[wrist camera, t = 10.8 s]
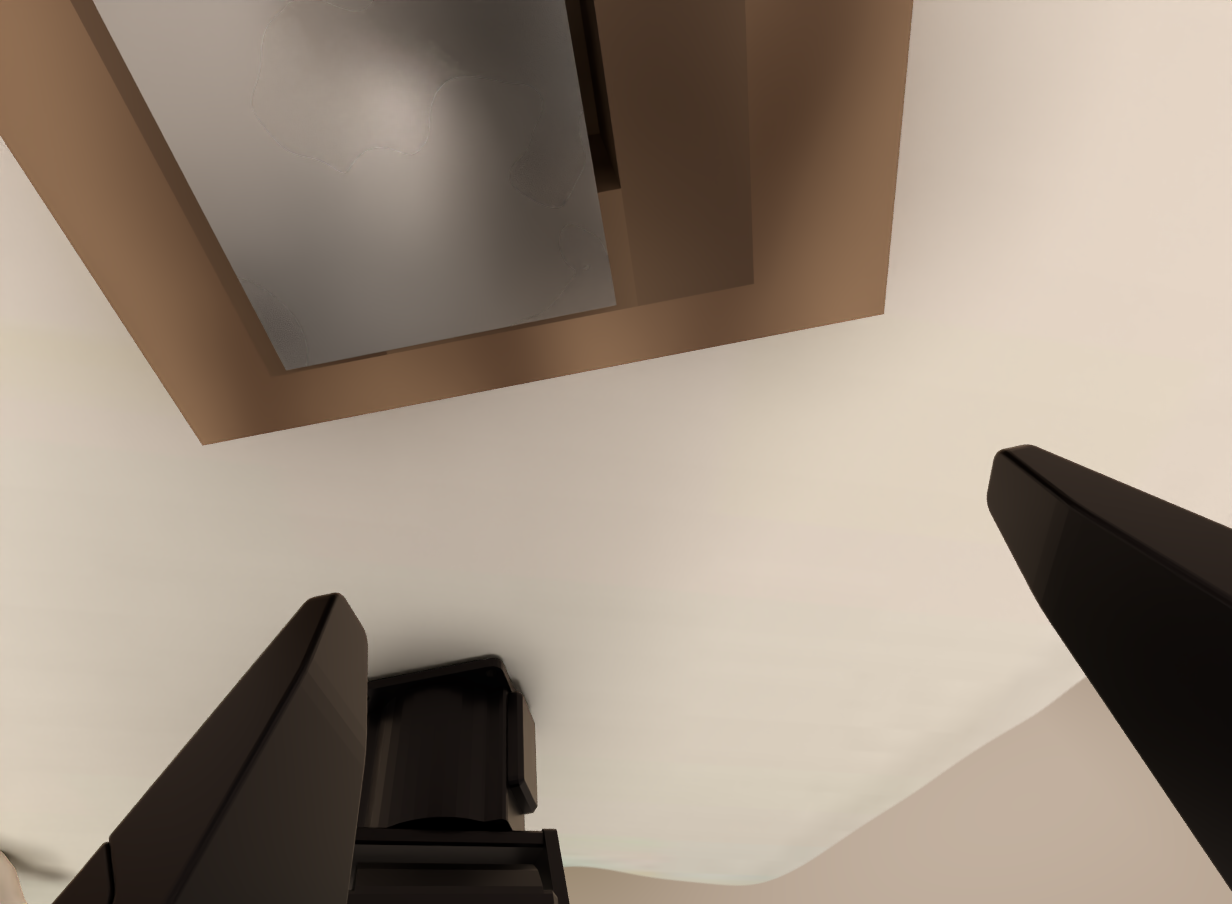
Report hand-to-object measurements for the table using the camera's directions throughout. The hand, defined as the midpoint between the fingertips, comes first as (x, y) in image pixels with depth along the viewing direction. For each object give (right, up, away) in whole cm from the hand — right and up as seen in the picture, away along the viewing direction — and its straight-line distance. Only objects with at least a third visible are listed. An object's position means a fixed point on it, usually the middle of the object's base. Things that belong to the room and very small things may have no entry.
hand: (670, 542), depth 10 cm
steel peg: (-4, +10, +5) cm, 12 cm away
